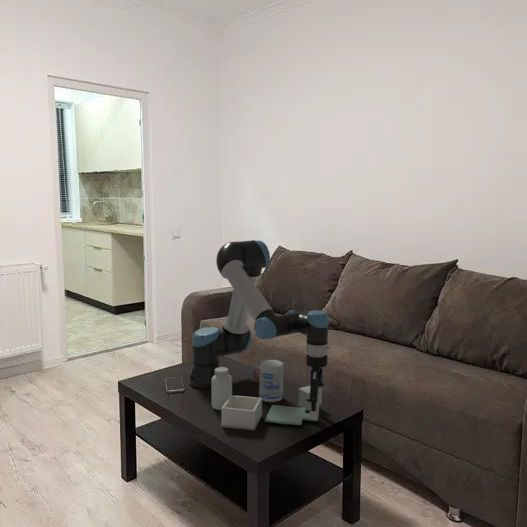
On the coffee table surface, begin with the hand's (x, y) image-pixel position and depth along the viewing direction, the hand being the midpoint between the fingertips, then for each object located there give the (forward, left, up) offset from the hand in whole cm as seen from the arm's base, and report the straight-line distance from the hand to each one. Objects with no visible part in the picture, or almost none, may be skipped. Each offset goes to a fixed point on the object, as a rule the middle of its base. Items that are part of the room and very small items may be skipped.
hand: (315, 411), depth 188 cm
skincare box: (-12, -4, -4) cm, 13 cm away
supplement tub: (-17, -20, -4) cm, 27 cm away
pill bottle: (-5, -37, -4) cm, 38 cm away
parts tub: (+6, -26, -4) cm, 27 cm away
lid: (0, -8, -4) cm, 9 cm away
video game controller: (-36, -28, -4) cm, 46 cm away
